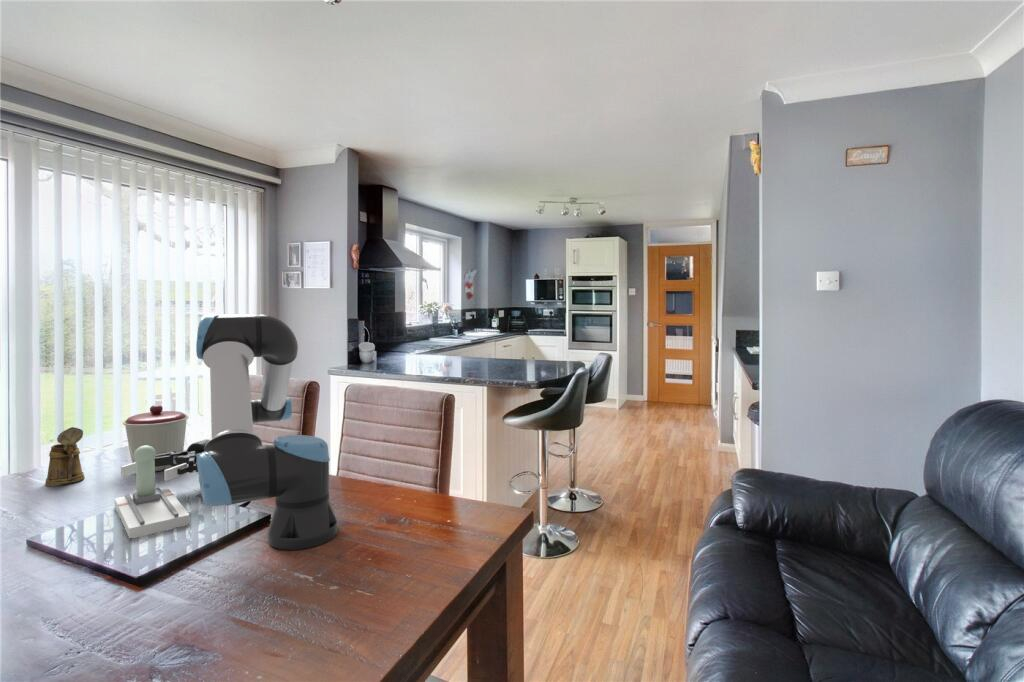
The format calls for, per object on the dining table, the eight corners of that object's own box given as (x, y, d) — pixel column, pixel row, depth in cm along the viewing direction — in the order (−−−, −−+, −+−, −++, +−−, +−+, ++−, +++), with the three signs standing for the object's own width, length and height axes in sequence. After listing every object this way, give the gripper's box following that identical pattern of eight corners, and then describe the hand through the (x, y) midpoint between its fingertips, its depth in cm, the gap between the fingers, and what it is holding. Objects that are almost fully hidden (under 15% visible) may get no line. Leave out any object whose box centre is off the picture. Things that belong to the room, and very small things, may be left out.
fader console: (189, 524, 127) (189, 511, 127) (129, 539, 119) (128, 525, 118) (168, 496, 146) (167, 485, 146) (114, 507, 138) (114, 495, 137)
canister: (137, 462, 178) (134, 401, 177) (196, 458, 184) (194, 399, 183) (114, 478, 161) (111, 411, 160) (180, 473, 167) (178, 408, 165)
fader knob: (160, 499, 136) (158, 445, 136) (135, 504, 133) (133, 449, 132) (156, 494, 140) (154, 442, 139) (132, 499, 136) (130, 445, 136)
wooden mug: (55, 491, 149) (52, 430, 148) (41, 482, 157) (38, 423, 156) (93, 483, 156) (91, 424, 155) (78, 475, 164) (76, 418, 163)
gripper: (242, 467, 154) (184, 491, 133) (171, 461, 159) (104, 484, 138) (242, 442, 154) (183, 462, 133) (170, 437, 159) (103, 456, 138)
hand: (143, 473), depth 136 cm, fingers open, 13 cm apart
